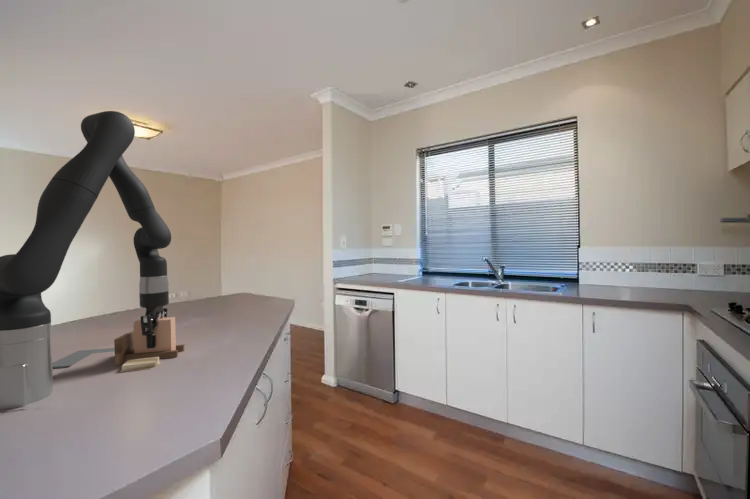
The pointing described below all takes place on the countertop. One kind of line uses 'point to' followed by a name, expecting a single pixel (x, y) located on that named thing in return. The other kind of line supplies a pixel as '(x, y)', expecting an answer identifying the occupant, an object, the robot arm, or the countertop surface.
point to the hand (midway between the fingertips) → (155, 344)
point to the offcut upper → (140, 363)
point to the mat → (77, 357)
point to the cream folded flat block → (143, 369)
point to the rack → (126, 352)
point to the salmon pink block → (163, 336)
